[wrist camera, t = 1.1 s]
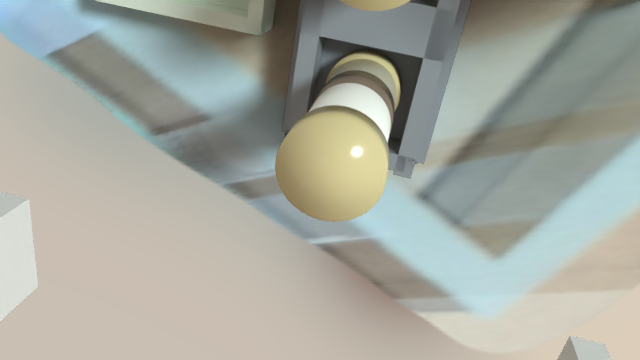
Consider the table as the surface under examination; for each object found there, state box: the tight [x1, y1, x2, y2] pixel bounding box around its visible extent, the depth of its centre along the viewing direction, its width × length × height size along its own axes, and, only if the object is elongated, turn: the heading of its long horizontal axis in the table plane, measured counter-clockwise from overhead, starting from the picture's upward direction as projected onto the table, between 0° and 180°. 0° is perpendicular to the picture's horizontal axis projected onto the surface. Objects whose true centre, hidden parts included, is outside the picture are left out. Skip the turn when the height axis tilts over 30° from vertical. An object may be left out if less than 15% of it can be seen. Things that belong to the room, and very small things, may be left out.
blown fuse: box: [275, 49, 402, 222], centre depth 25 cm, size 4×4×12 cm
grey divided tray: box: [282, 0, 471, 178], centre depth 27 cm, size 16×9×3 cm, turn 171°
